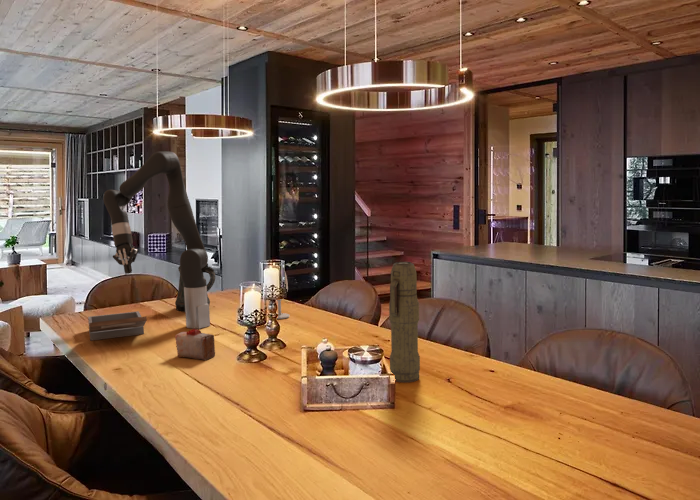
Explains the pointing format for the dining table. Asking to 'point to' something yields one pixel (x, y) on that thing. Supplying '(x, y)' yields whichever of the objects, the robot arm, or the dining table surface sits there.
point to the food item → (195, 345)
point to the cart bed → (118, 331)
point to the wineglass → (280, 315)
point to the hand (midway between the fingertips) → (128, 273)
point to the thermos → (404, 322)
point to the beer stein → (180, 297)
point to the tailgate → (117, 324)
